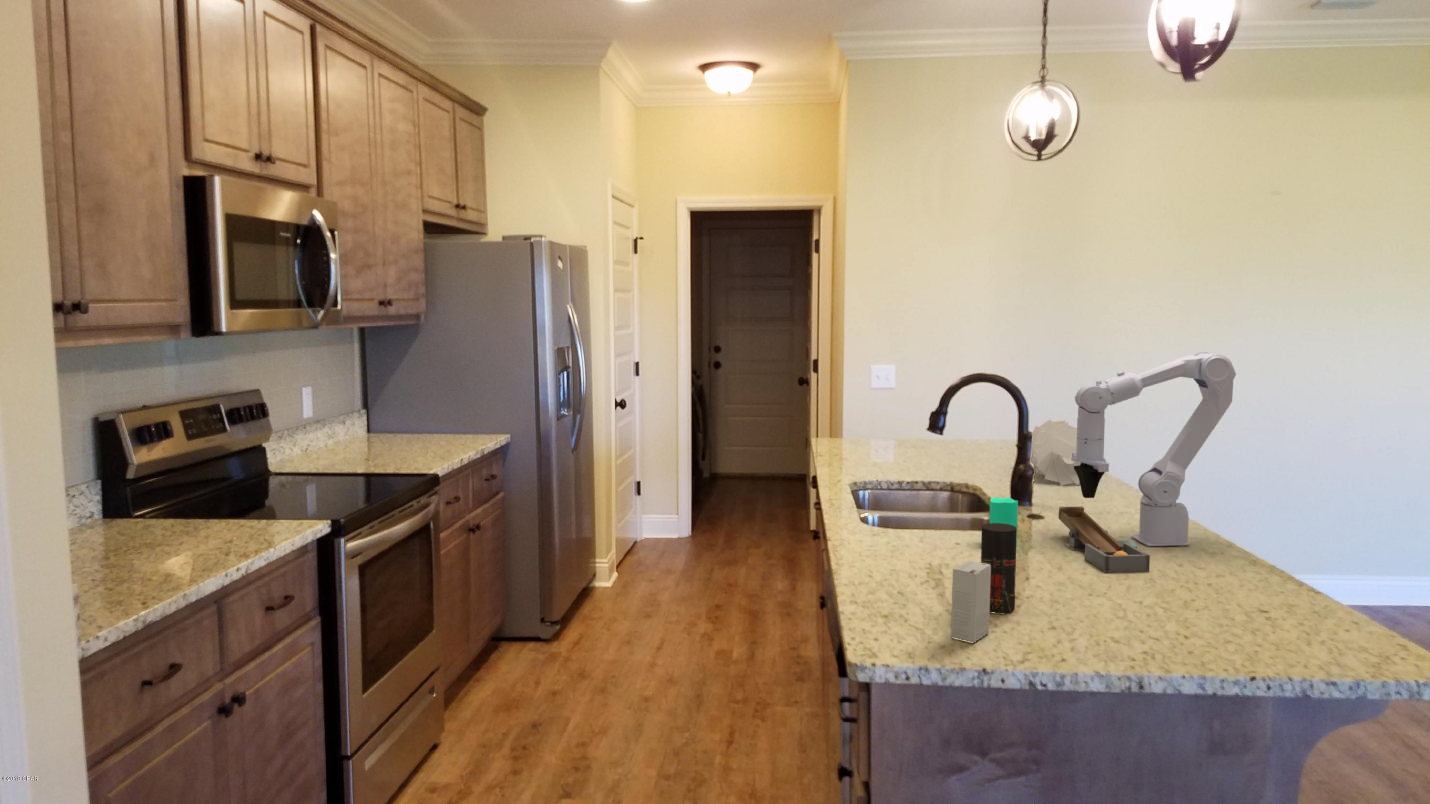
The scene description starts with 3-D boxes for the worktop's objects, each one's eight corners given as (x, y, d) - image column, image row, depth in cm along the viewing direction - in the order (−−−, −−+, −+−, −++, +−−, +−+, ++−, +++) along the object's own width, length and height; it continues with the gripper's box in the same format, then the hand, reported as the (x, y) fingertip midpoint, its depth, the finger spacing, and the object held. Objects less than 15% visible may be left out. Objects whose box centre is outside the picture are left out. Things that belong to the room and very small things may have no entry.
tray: (1126, 557, 191) (1127, 542, 191) (1149, 571, 182) (1149, 555, 182) (1084, 558, 191) (1085, 543, 191) (1105, 572, 182) (1105, 556, 181)
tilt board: (1100, 517, 209) (1101, 505, 209) (1142, 554, 190) (1144, 542, 189) (1058, 518, 209) (1059, 506, 208) (1095, 555, 190) (1097, 543, 189)
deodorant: (976, 602, 165) (977, 523, 164) (1009, 602, 165) (1011, 522, 163) (985, 614, 159) (986, 531, 158) (1019, 614, 159) (1021, 531, 157)
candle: (1018, 549, 199) (1019, 496, 197) (990, 548, 200) (991, 495, 199) (1015, 542, 205) (1016, 490, 203) (987, 541, 206) (988, 490, 204)
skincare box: (965, 628, 153) (966, 559, 151) (990, 634, 150) (992, 563, 149) (949, 639, 148) (950, 567, 147) (975, 645, 145) (976, 572, 144)
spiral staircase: (1063, 484, 284) (1085, 498, 259) (1011, 460, 285) (1028, 471, 261) (1090, 432, 282) (1115, 441, 257) (1037, 408, 283) (1057, 415, 258)
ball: (1130, 548, 184) (1134, 563, 182) (1123, 553, 187) (1127, 568, 185) (1114, 549, 184) (1118, 564, 182) (1108, 553, 187) (1111, 568, 185)
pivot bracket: (1102, 544, 202) (1103, 527, 202) (1111, 549, 198) (1112, 532, 197) (1064, 545, 202) (1065, 528, 201) (1073, 550, 198) (1073, 533, 197)
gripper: (1059, 433, 210) (1058, 490, 212) (1087, 443, 196) (1085, 505, 197) (1089, 433, 210) (1087, 490, 212) (1119, 443, 196) (1116, 504, 198)
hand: (1088, 497), depth 205 cm, fingers closed
